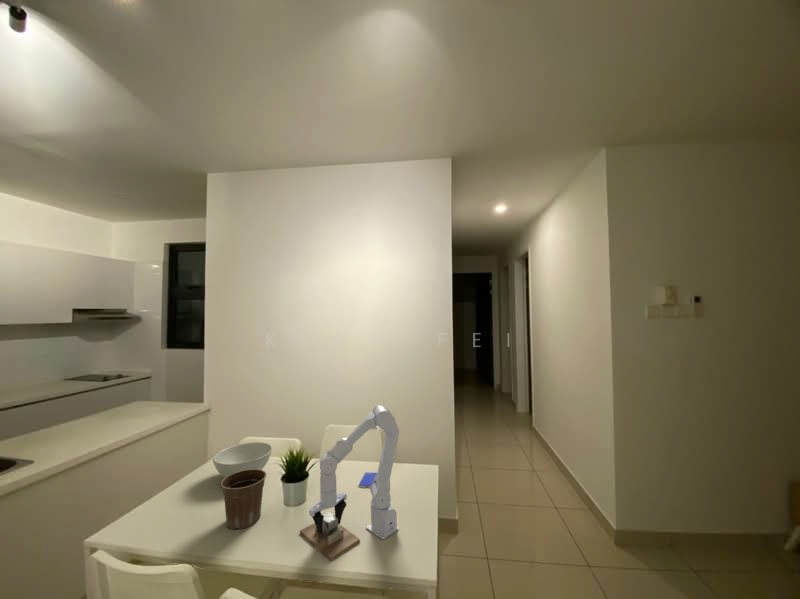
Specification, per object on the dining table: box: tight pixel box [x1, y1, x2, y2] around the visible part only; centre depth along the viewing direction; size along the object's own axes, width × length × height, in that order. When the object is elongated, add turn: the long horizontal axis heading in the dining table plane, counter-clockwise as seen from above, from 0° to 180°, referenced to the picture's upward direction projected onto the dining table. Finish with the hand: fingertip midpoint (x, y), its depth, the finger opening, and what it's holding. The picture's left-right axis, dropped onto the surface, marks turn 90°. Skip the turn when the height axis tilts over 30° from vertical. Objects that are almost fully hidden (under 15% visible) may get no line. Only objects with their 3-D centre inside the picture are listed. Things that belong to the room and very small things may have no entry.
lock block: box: [321, 511, 338, 540], centre depth 118 cm, size 6×4×6 cm, turn 45°
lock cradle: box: [299, 522, 361, 561], centre depth 117 cm, size 20×12×4 cm, turn 45°
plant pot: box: [220, 469, 267, 530], centre depth 129 cm, size 16×16×16 cm
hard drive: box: [357, 471, 377, 489], centre depth 157 cm, size 2×8×12 cm
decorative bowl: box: [212, 441, 273, 479], centre depth 164 cm, size 27×27×12 cm
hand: (329, 527), depth 117 cm, fingers open, 7 cm apart
